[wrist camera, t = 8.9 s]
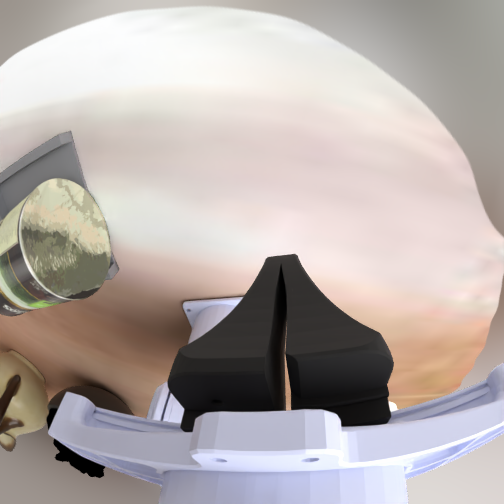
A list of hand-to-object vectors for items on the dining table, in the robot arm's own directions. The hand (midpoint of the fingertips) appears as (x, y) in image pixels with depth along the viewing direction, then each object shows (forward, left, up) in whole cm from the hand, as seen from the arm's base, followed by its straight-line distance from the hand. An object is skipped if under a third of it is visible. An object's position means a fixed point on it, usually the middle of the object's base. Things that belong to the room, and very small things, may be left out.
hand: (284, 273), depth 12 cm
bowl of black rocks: (-33, +37, -11) cm, 51 cm away
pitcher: (-29, +65, -11) cm, 72 cm away
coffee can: (+2, +16, -5) cm, 17 cm away
